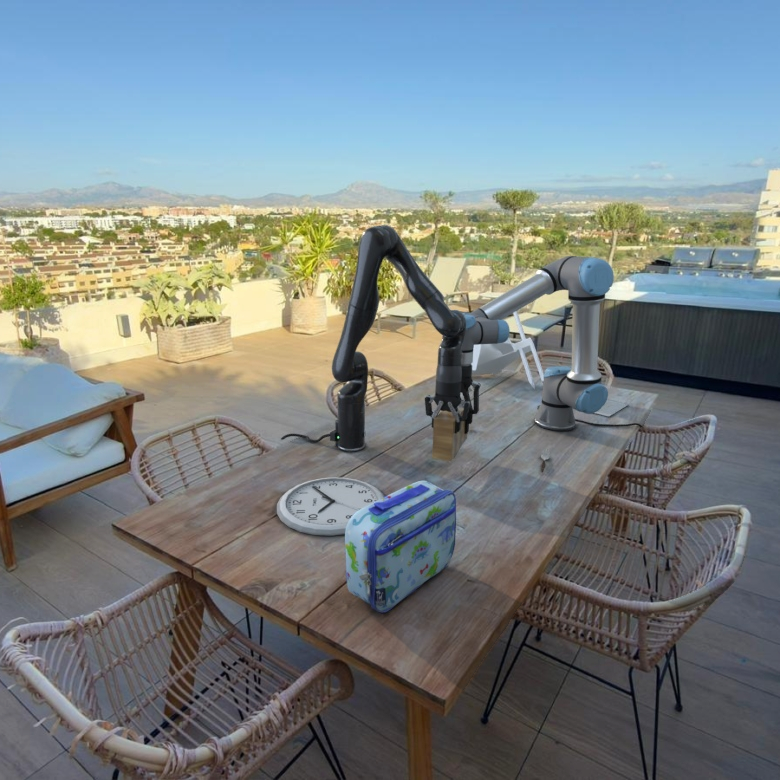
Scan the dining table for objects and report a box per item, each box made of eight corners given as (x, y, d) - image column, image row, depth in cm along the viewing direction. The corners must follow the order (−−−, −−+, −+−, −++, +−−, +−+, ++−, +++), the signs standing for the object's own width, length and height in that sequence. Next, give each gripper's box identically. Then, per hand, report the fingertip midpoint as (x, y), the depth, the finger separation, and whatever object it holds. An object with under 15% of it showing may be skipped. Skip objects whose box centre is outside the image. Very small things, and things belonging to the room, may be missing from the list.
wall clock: (392, 527, 129) (268, 531, 127) (391, 533, 130) (269, 537, 127) (383, 473, 158) (282, 475, 155) (383, 478, 158) (282, 480, 156)
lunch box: (374, 626, 100) (375, 530, 93) (338, 598, 107) (337, 508, 101) (459, 568, 117) (465, 484, 111) (424, 547, 124) (427, 467, 118)
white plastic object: (482, 418, 267) (461, 395, 242) (463, 346, 289) (443, 318, 265) (552, 394, 255) (538, 367, 230) (527, 321, 277) (512, 289, 252)
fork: (537, 473, 163) (538, 467, 163) (541, 453, 178) (542, 448, 177) (546, 474, 163) (546, 468, 162) (549, 454, 177) (550, 449, 176)
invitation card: (608, 416, 214) (573, 407, 224) (608, 416, 214) (573, 408, 224) (628, 404, 229) (594, 396, 238) (628, 405, 229) (594, 397, 238)
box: (449, 435, 179) (451, 399, 175) (467, 437, 177) (469, 402, 173) (432, 458, 161) (433, 419, 157) (451, 461, 159) (453, 422, 155)
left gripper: (421, 378, 154) (419, 431, 159) (469, 384, 149) (465, 439, 154) (429, 372, 161) (427, 423, 166) (475, 378, 156) (471, 430, 161)
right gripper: (428, 363, 167) (425, 430, 174) (487, 369, 160) (482, 439, 167) (435, 357, 174) (432, 422, 181) (492, 364, 167) (487, 431, 174)
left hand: (445, 430), depth 160 cm, fingers closed on box, 6 cm apart
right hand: (456, 430), depth 174 cm, fingers closed on box, 6 cm apart
